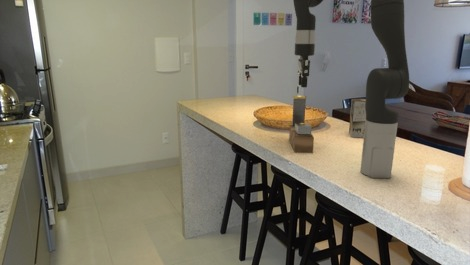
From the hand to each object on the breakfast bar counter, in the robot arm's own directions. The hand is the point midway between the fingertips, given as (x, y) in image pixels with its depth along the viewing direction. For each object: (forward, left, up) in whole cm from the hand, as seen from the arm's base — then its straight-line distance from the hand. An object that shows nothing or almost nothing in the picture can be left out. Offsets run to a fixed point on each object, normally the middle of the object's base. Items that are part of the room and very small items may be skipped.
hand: (302, 86), depth 137 cm
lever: (+6, 0, -18) cm, 19 cm away
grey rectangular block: (-7, 0, -17) cm, 19 cm away
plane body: (-3, 0, -24) cm, 24 cm away
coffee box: (+15, -28, -24) cm, 40 cm away
